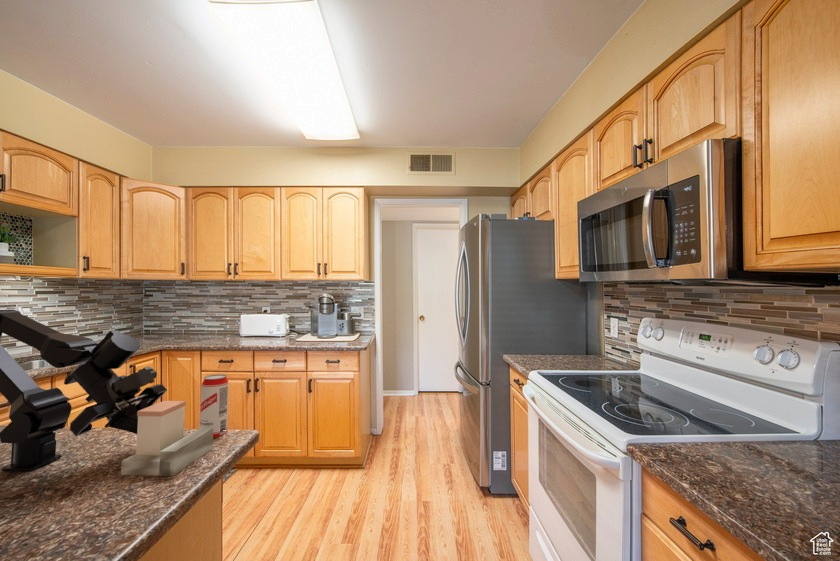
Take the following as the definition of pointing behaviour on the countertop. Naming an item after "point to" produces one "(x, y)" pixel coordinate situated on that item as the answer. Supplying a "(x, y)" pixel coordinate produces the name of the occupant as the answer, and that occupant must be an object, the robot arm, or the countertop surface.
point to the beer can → (214, 404)
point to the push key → (160, 427)
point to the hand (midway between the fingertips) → (149, 434)
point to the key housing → (171, 456)
